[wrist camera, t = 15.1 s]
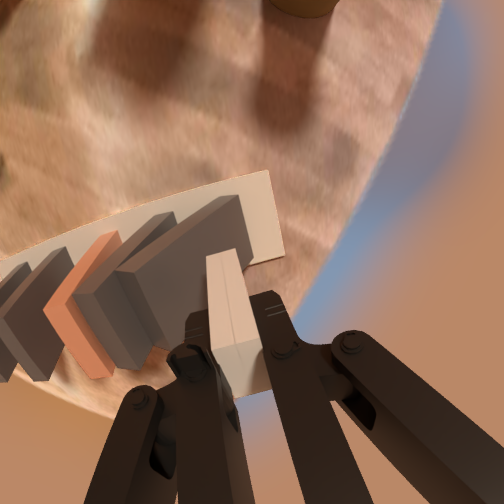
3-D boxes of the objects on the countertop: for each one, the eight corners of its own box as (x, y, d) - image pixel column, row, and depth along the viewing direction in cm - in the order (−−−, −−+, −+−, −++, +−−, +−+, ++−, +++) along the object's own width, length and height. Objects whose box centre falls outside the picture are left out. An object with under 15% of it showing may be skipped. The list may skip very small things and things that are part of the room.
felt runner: (28, 320, 22) (26, 322, 22) (-4, 263, 19) (-5, 264, 19) (284, 253, 23) (285, 255, 23) (267, 169, 20) (268, 170, 20)
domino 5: (235, 256, 22) (153, 345, 15) (219, 196, 20) (114, 270, 13) (254, 257, 22) (173, 352, 14) (238, 194, 19) (133, 272, 12)
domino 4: (175, 273, 22) (117, 368, 13) (154, 215, 20) (71, 294, 11) (193, 271, 22) (140, 370, 13) (173, 211, 20) (93, 293, 11)
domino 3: (123, 289, 22) (90, 378, 13) (100, 235, 20) (42, 309, 11) (140, 284, 22) (112, 376, 13) (117, 229, 20) (64, 304, 11)
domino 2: (76, 300, 22) (34, 381, 13) (52, 251, 20) (-11, 321, 11) (89, 296, 22) (48, 380, 13) (65, 245, 20) (3, 317, 11)
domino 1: (40, 309, 21) (-3, 382, 12) (17, 265, 19) (-41, 330, 10) (51, 306, 22) (7, 382, 13) (27, 261, 19) (-33, 327, 10)
